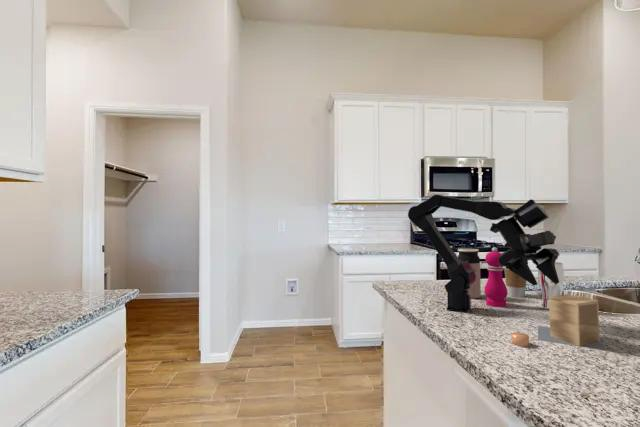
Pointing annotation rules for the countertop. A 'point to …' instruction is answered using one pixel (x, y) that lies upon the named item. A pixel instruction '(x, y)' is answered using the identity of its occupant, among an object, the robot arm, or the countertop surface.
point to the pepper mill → (495, 281)
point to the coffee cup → (514, 284)
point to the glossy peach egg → (520, 339)
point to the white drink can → (551, 285)
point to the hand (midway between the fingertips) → (546, 284)
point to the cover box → (574, 319)
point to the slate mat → (545, 336)
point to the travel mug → (474, 262)
